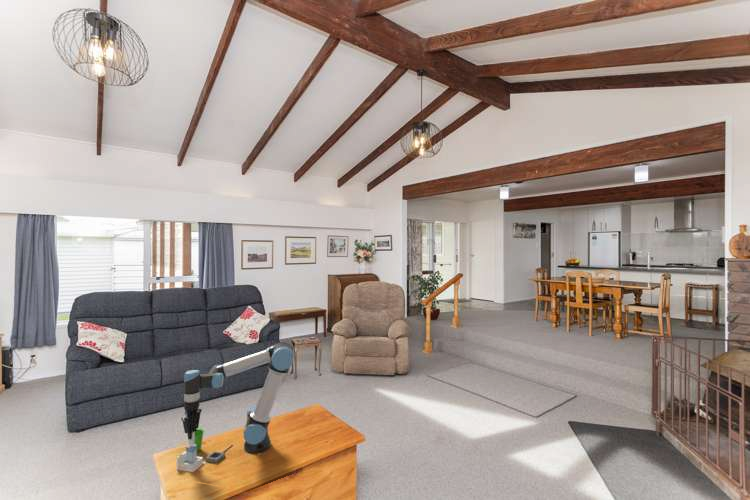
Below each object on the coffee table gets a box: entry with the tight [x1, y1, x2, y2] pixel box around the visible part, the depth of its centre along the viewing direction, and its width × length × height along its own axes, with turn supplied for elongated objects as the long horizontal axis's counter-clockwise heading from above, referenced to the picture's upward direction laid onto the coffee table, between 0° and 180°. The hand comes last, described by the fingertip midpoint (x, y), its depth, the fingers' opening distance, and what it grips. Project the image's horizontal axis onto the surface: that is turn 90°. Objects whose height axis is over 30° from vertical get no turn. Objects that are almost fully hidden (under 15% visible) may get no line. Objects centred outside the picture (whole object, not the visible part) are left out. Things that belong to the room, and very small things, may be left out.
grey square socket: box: [205, 450, 226, 464], centre depth 210 cm, size 7×7×3 cm
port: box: [176, 450, 206, 473], centre depth 204 cm, size 10×10×8 cm
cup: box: [186, 428, 205, 453], centre depth 219 cm, size 9×9×11 cm
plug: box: [185, 444, 198, 464], centre depth 204 cm, size 4×4×10 cm
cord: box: [222, 444, 234, 454], centre depth 220 cm, size 1×12×1 cm, turn 165°
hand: (191, 444), depth 204 cm, fingers closed
